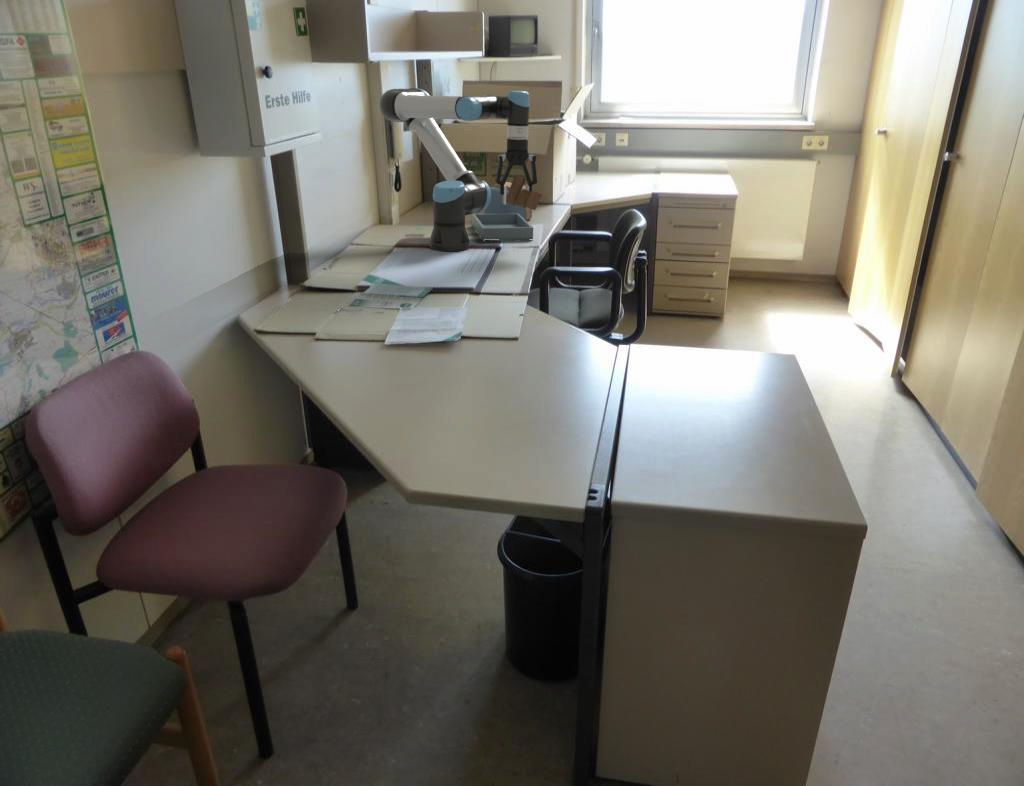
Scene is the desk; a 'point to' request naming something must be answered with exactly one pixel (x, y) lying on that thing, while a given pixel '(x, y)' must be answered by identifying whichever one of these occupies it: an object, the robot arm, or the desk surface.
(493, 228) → the crate
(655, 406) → the desk surface
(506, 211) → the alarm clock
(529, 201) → the wooden block set
